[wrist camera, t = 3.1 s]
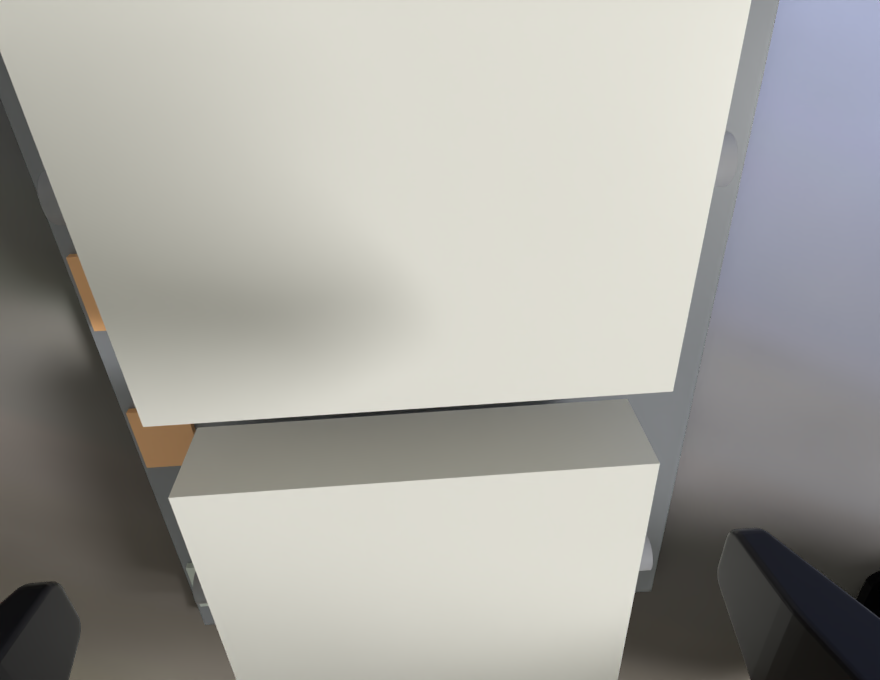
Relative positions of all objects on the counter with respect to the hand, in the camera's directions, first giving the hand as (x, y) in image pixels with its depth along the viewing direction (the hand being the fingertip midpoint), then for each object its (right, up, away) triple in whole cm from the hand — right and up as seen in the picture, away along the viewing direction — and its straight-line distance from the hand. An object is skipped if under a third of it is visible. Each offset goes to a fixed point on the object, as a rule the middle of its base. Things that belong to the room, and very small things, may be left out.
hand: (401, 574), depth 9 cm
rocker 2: (0, -3, +9) cm, 9 cm away
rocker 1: (0, +6, +3) cm, 7 cm away
